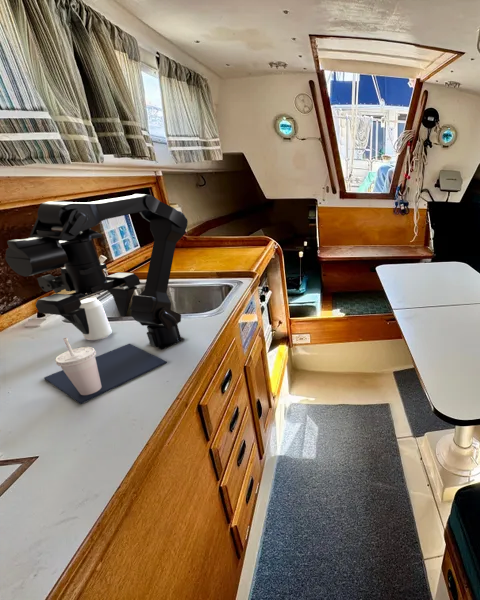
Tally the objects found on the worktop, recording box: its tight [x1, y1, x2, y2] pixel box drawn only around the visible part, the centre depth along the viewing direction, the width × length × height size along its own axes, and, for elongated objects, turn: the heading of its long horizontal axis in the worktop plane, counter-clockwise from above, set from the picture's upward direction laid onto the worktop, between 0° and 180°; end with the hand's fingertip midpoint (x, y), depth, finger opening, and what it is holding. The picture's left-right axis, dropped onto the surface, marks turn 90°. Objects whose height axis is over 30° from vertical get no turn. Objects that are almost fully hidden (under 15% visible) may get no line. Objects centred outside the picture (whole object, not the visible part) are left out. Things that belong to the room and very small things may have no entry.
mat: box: [43, 343, 168, 405], centre depth 81 cm, size 18×18×1 cm
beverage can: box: [80, 296, 113, 341], centre depth 93 cm, size 6×6×12 cm
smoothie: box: [54, 337, 102, 395], centre depth 71 cm, size 6×6×14 cm
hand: (106, 324), depth 77 cm, fingers open, 9 cm apart
